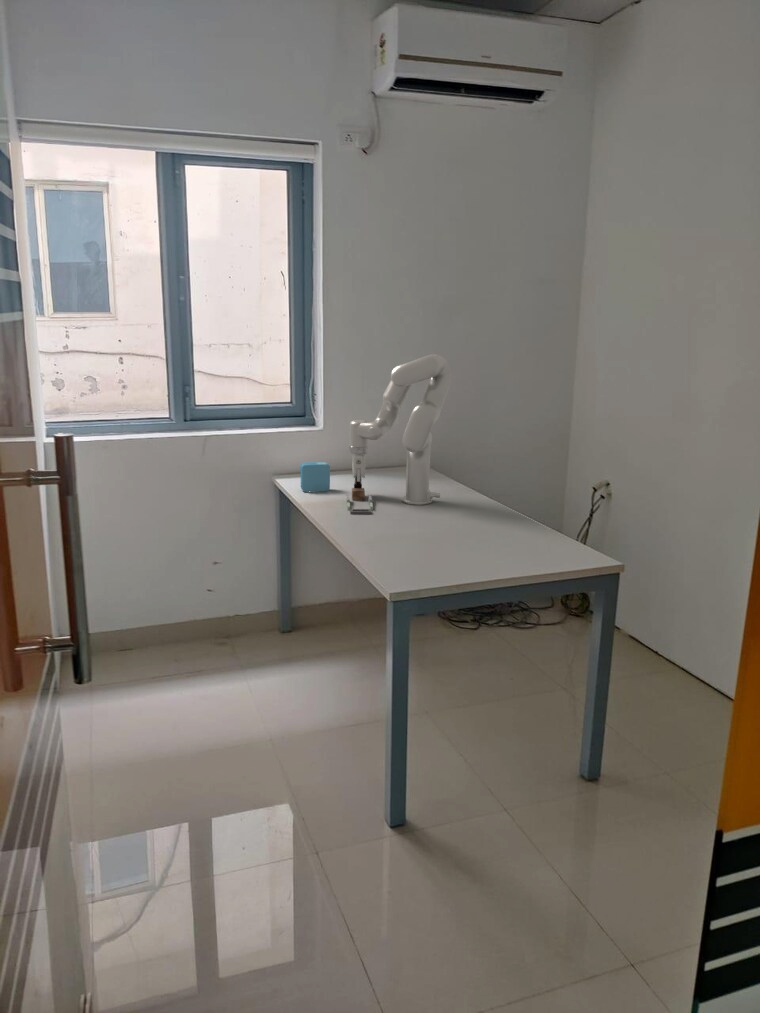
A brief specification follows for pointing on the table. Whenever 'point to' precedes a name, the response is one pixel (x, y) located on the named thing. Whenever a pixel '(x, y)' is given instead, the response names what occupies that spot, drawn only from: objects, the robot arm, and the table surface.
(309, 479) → the data package
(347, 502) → the walled lane
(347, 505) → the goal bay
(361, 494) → the walnut block
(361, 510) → the tray
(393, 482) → the table surface
